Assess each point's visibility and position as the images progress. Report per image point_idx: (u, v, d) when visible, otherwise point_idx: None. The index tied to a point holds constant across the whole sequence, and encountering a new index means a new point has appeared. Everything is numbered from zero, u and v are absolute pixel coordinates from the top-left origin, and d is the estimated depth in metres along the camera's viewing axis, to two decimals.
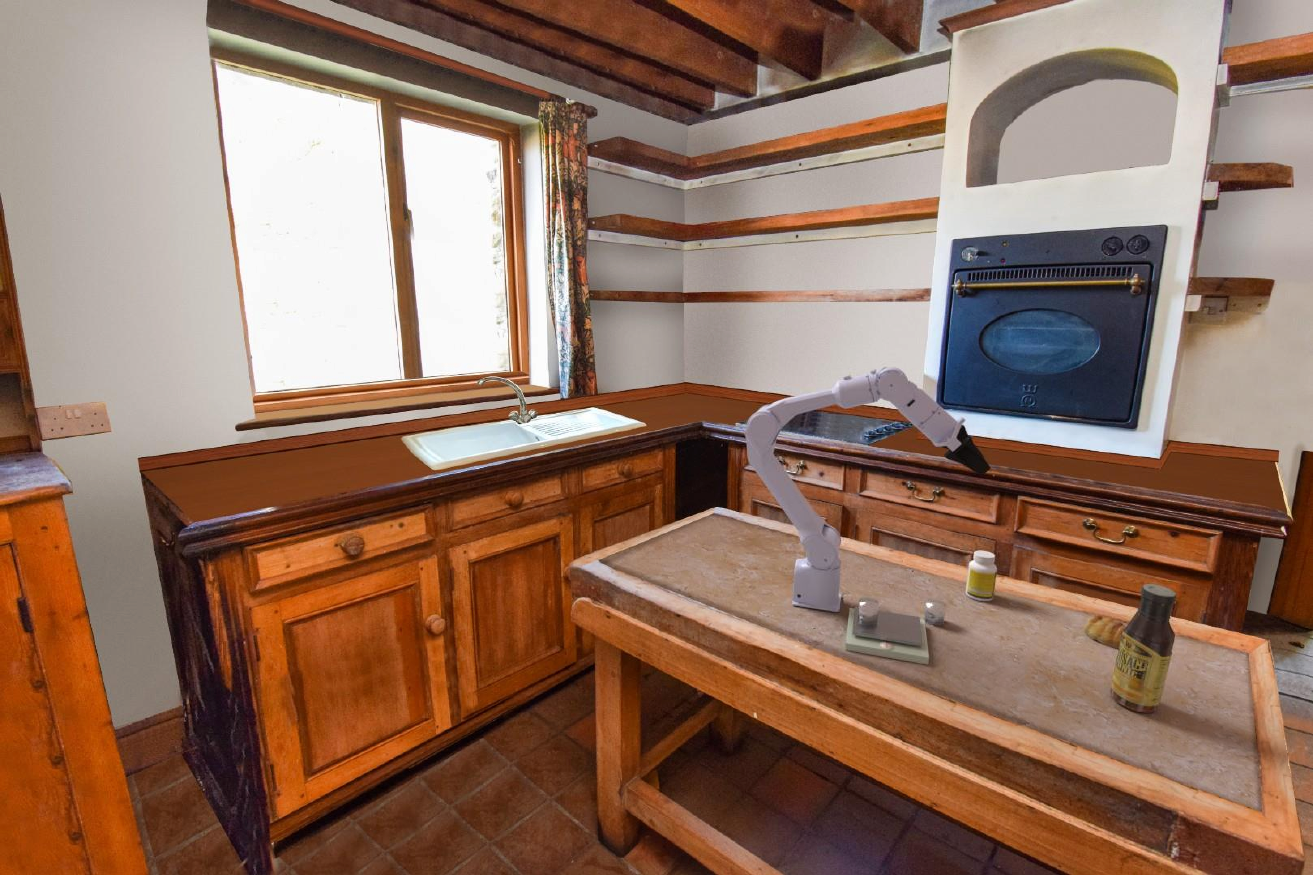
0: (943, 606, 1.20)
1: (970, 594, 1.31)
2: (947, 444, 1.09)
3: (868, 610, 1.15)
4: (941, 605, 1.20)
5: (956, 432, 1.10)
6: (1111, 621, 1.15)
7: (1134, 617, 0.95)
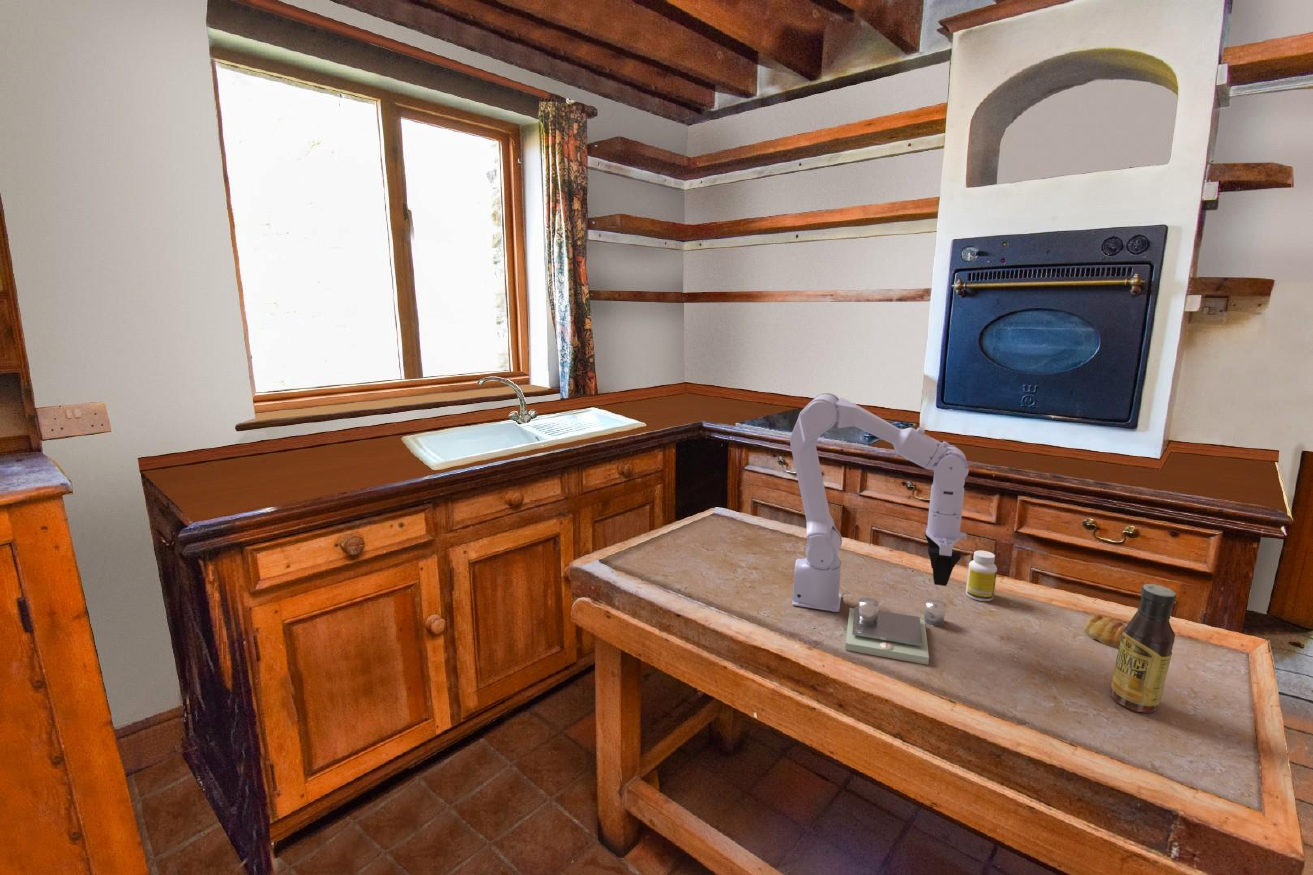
0: (943, 606, 1.20)
1: (970, 594, 1.31)
2: (942, 547, 1.12)
3: (868, 610, 1.15)
4: (941, 605, 1.20)
5: (954, 543, 1.14)
6: (1111, 621, 1.16)
7: (1134, 617, 0.95)
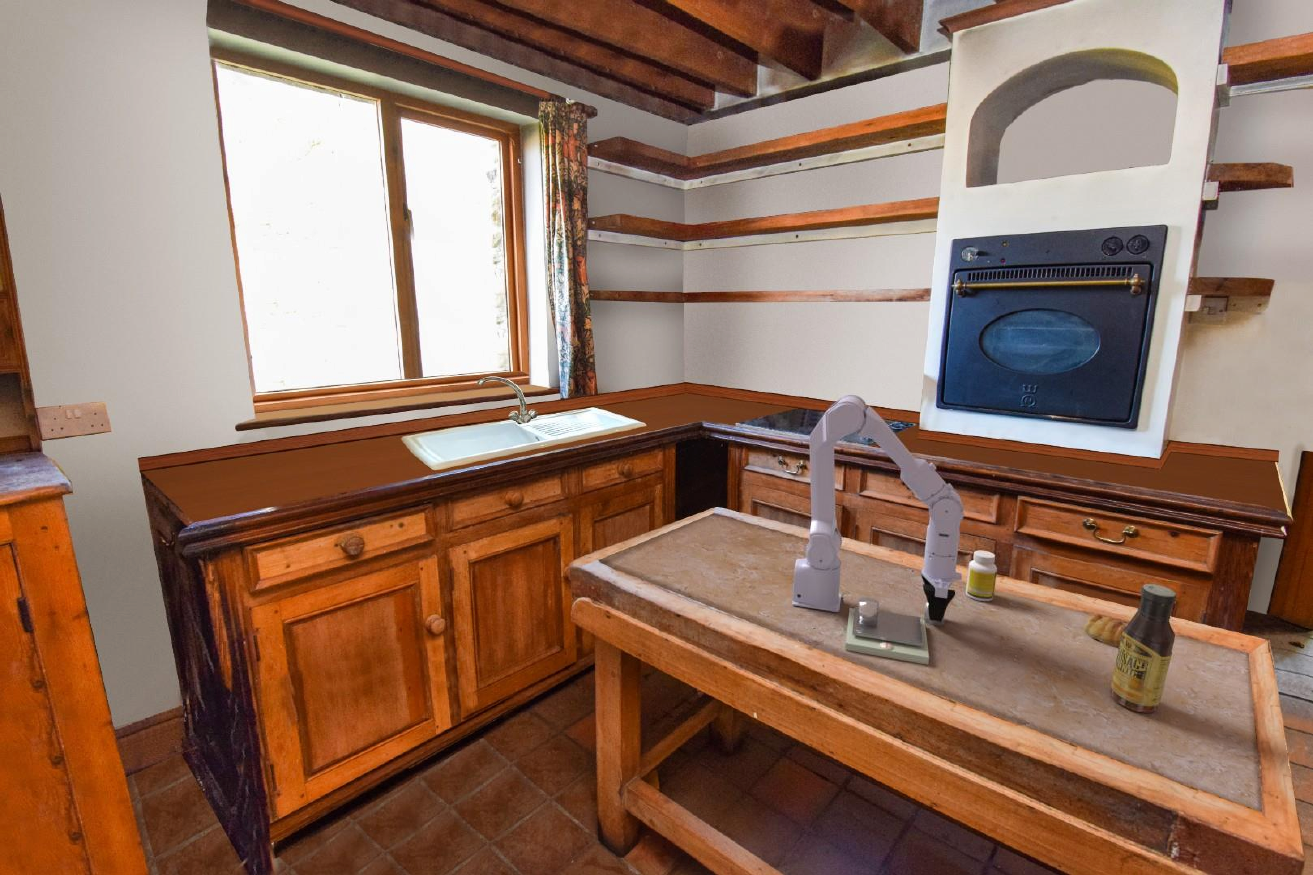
0: None
1: (970, 594, 1.31)
2: (937, 589, 1.13)
3: (868, 610, 1.15)
4: None
5: (950, 584, 1.15)
6: (1111, 620, 1.16)
7: (1134, 617, 0.95)
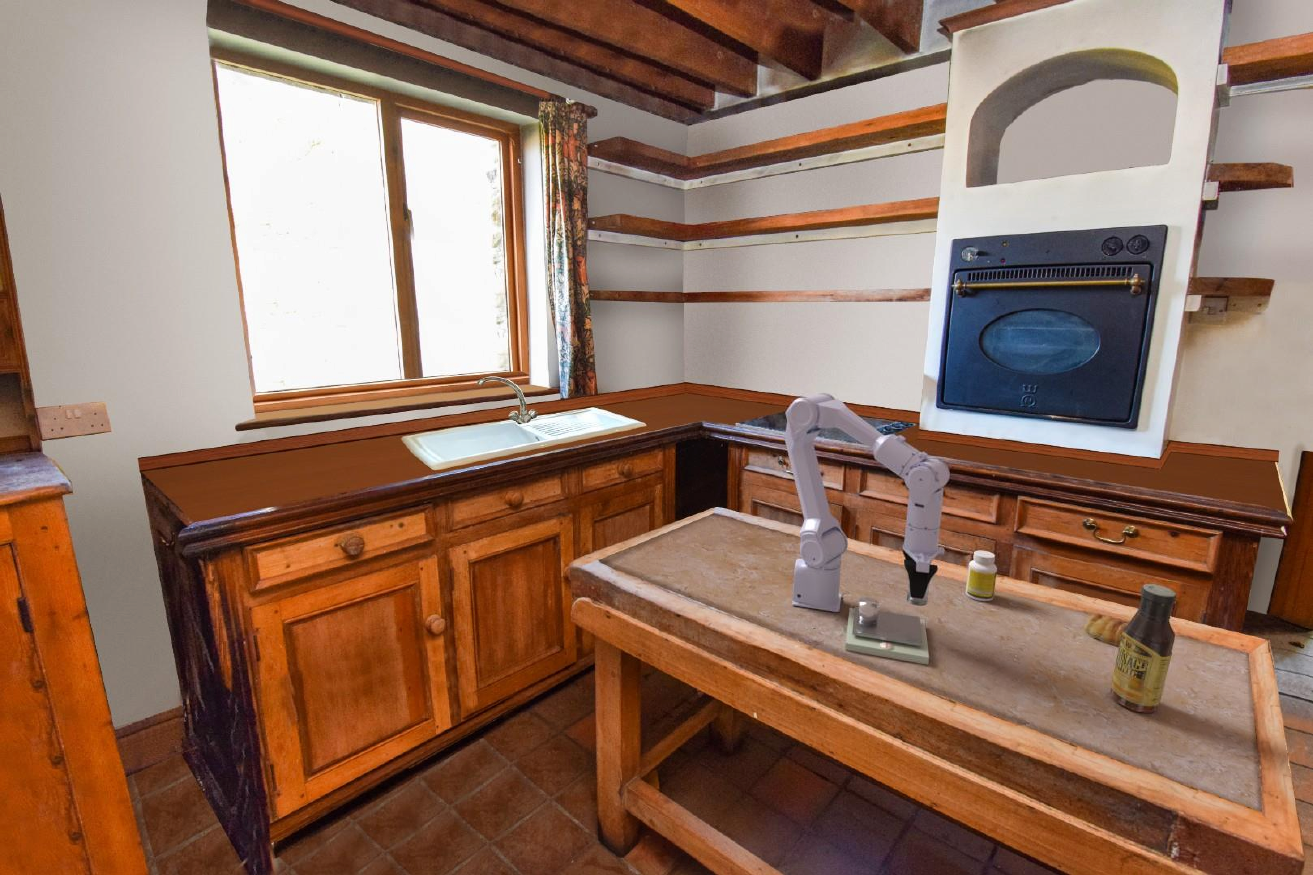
0: None
1: (970, 594, 1.31)
2: (919, 563, 1.07)
3: (868, 610, 1.15)
4: None
5: (932, 559, 1.09)
6: (1111, 619, 1.16)
7: (1134, 617, 0.95)
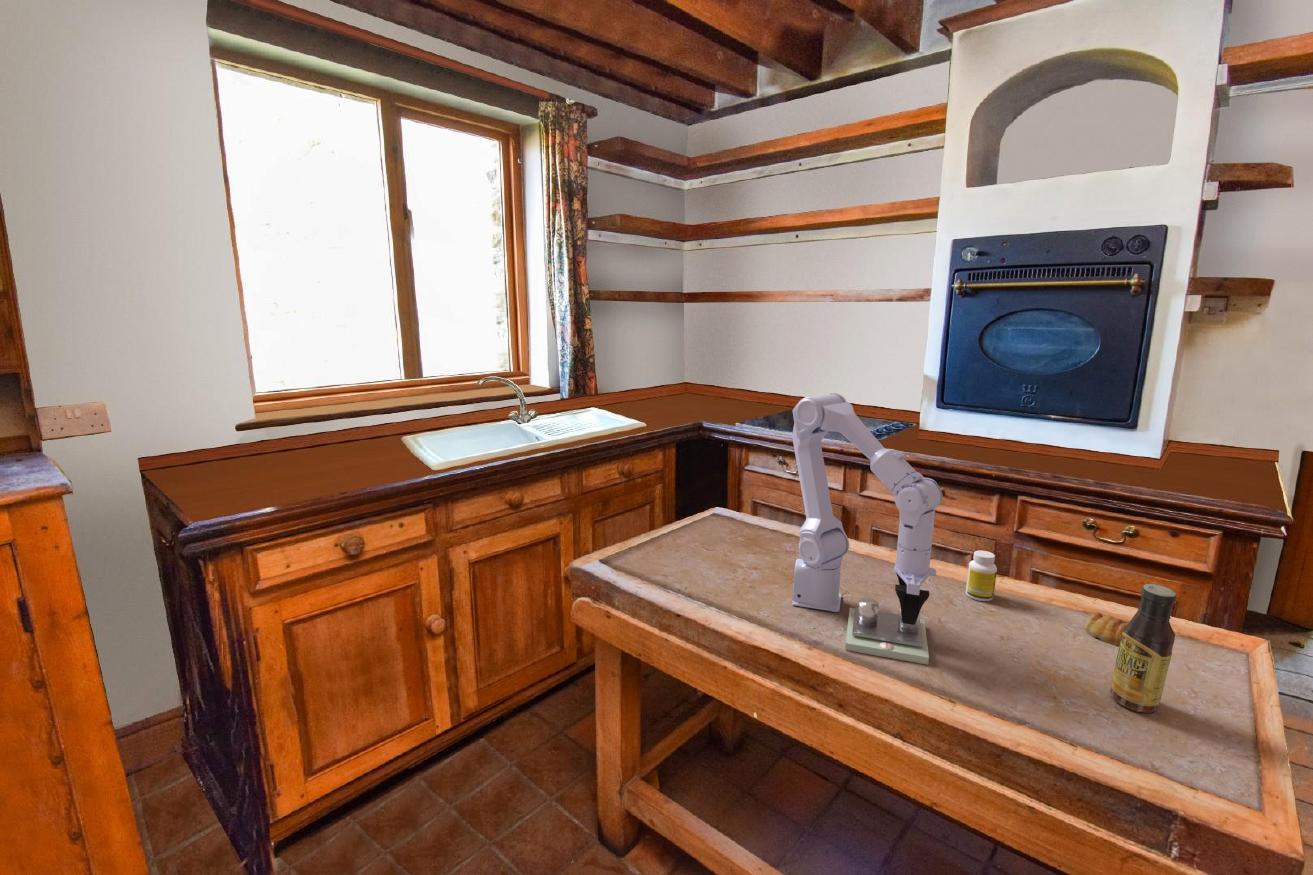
0: None
1: (970, 594, 1.31)
2: (909, 585, 1.06)
3: (868, 611, 1.15)
4: None
5: (923, 581, 1.08)
6: (1111, 619, 1.16)
7: (1134, 617, 0.95)
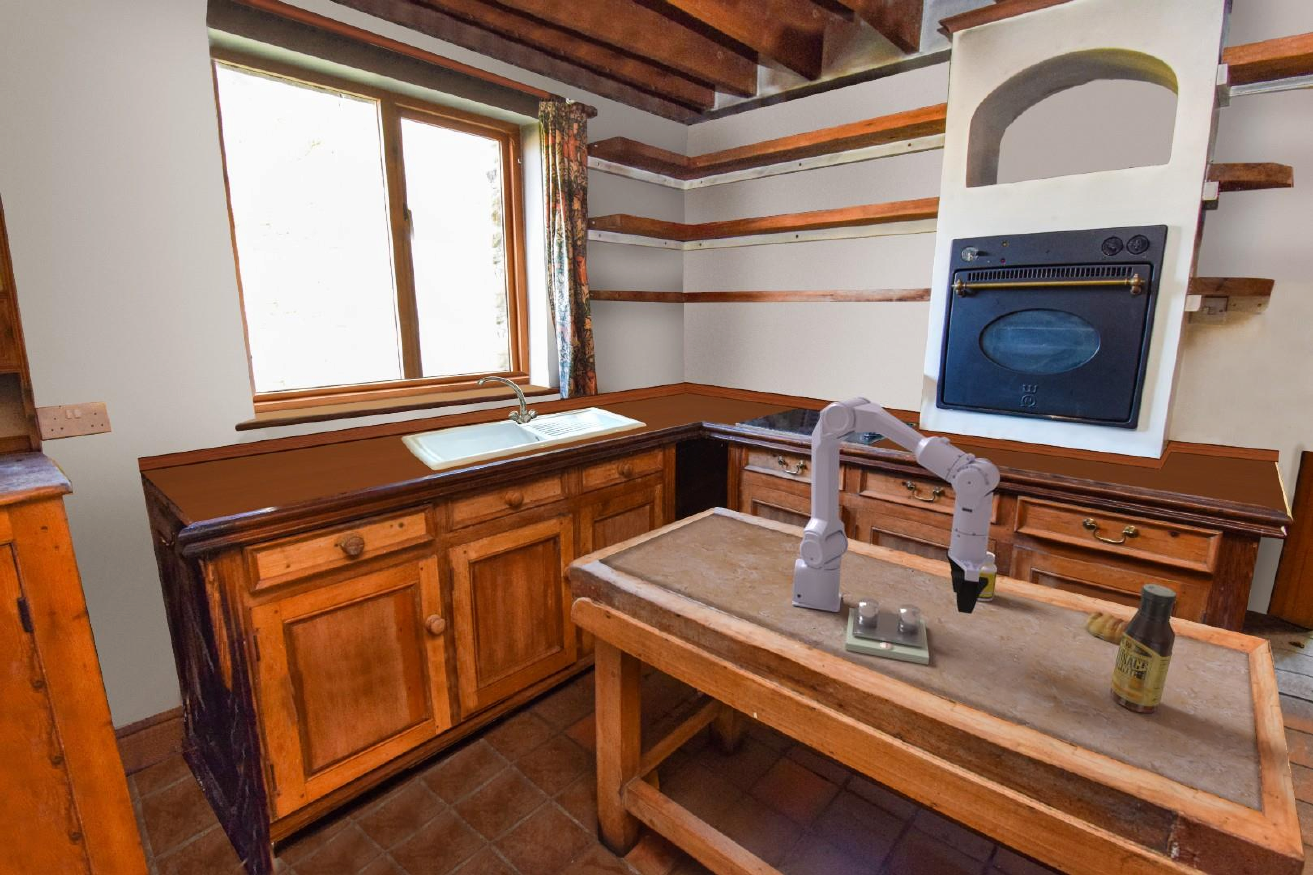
0: (918, 611, 1.13)
1: None
2: (968, 571, 1.00)
3: (868, 611, 1.15)
4: (916, 611, 1.13)
5: (981, 567, 1.02)
6: (1111, 617, 1.17)
7: (1134, 617, 0.95)
